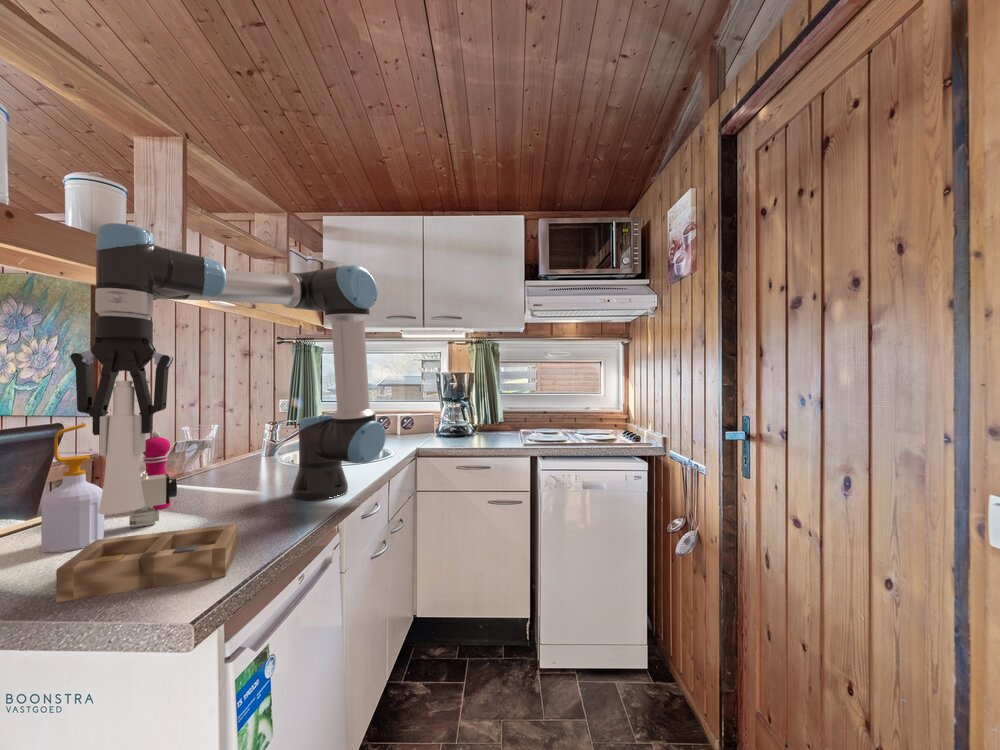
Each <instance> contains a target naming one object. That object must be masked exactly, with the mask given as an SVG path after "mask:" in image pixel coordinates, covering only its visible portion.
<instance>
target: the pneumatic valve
mask: <svg viewBox="0 0 1000 750" xmlns="http://www.w3.org/2000/svg"><path fill="white" fill-rule="evenodd" d="M177 481H178V480H177V478H176V477H175V478H171V477H170V475H169V473H166V474H161V475H153V476H147V473H146V472H145V473H144V472H143V473H141V484H142V491H143V496H144V501H145V506H144V507H143V508H141V510H140V509H138V510H135V511H132V514H129V518H128V519H129V524H128V525H129V526H132V528H135V529H139V528H138V527H140V528H144V527H143V526H146V527H150V526H149V525H151V526H154V525H156V522H157V521H159V520H160V511H159V510H155V508H153V506H156V505H162V504H169V499H170V500H172V498H175V497H177V493H178V482H177ZM148 507H150V508H148Z"/></svg>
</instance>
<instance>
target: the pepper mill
mask: <svg viewBox="0 0 1000 750" xmlns="http://www.w3.org/2000/svg"><path fill="white" fill-rule="evenodd" d="M160 436H161V433H160V432H159V431H156V430H155V431H152V432H151V437H149V438H146V449H145V452H143V453H142V454H143V455H144V457H143V463H144V464H145V473H147V476H153V475H161V474H167V471H166V462H167V461H168V455H167V454H168V452H169V451H170V449H171V442H169V440H168V439H167V438H165V437H160ZM168 506H169V507H170V506H171V499H169V504H162V505H156V506H153V508H155V511H157V509H160V510H163V509H162V508H164V509H167V508H169V507H168ZM166 507H167V508H166ZM148 508H150V507H148ZM139 510H141V509H139Z"/></svg>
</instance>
